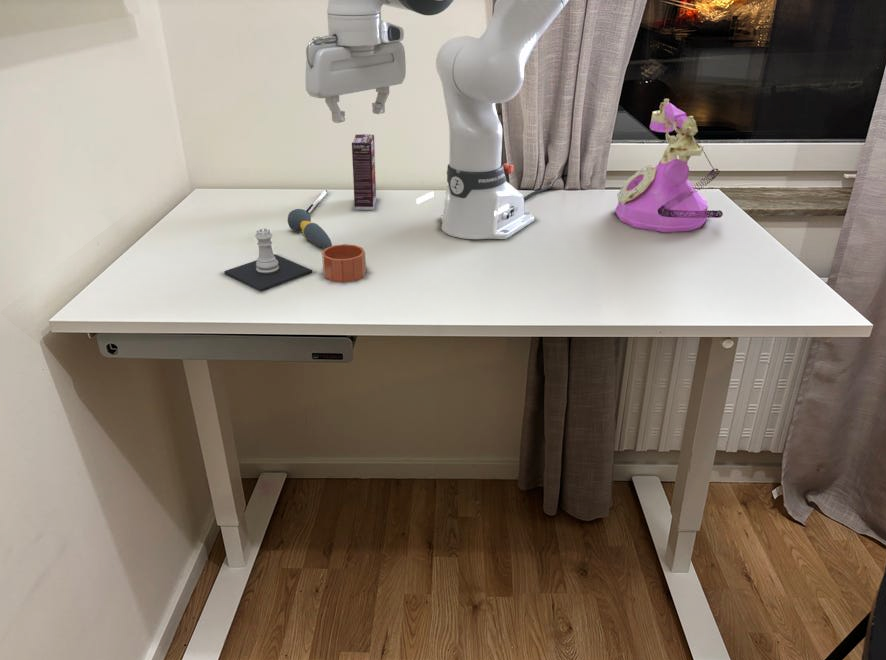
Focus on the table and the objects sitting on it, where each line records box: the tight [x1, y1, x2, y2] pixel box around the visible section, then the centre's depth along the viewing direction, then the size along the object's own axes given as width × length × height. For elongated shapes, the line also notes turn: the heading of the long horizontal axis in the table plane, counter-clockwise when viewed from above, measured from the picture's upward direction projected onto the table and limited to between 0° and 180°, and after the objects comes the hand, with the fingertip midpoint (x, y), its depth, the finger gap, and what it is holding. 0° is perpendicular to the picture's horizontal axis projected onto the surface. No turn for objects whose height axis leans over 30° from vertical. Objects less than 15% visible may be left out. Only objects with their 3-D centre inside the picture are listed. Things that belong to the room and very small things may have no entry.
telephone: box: [615, 98, 724, 233], centre depth 162 cm, size 36×22×25 cm, turn 178°
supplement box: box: [351, 133, 377, 211], centre depth 177 cm, size 9×5×16 cm, turn 179°
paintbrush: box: [287, 208, 333, 250], centre depth 160 cm, size 20×5×5 cm, turn 38°
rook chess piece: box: [254, 228, 279, 274], centre depth 143 cm, size 4×4×8 cm
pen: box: [305, 189, 328, 215], centre depth 181 cm, size 1×19×1 cm, turn 172°
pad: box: [224, 253, 313, 292], centre depth 145 cm, size 12×12×1 cm
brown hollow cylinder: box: [321, 243, 367, 283], centre depth 143 cm, size 8×8×4 cm
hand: (359, 117), depth 131 cm, fingers open, 8 cm apart
